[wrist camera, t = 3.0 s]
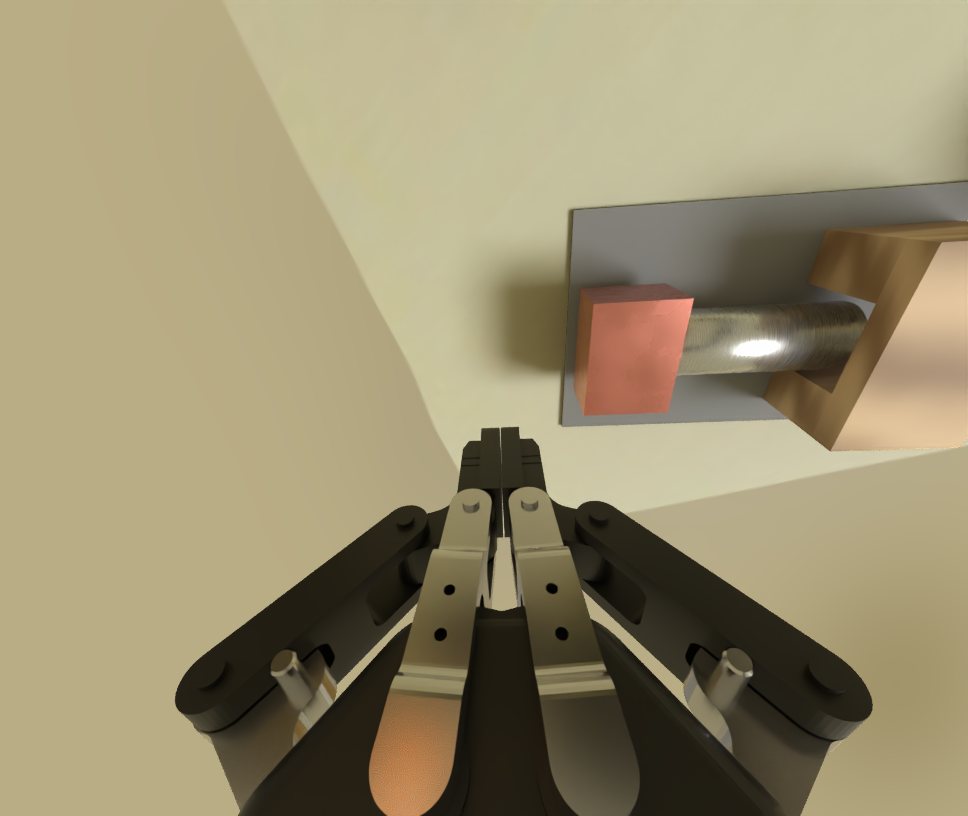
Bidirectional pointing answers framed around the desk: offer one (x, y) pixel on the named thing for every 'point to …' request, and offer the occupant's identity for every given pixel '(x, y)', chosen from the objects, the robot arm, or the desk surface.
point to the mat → (729, 272)
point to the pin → (695, 343)
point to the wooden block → (890, 342)
